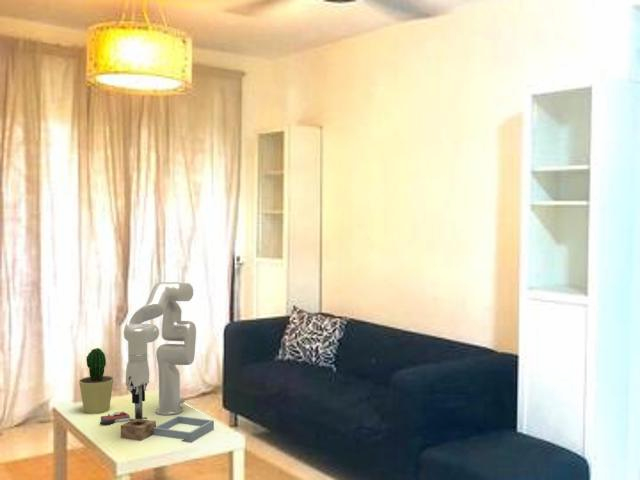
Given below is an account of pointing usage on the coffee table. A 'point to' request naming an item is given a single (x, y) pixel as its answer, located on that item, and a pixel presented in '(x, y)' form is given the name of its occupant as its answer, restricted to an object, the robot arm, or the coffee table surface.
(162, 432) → the tray
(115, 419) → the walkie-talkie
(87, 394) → the potted cactus
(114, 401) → the coffee table surface
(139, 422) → the holder block
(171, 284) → the robot arm
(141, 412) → the pin
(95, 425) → the coffee table surface
